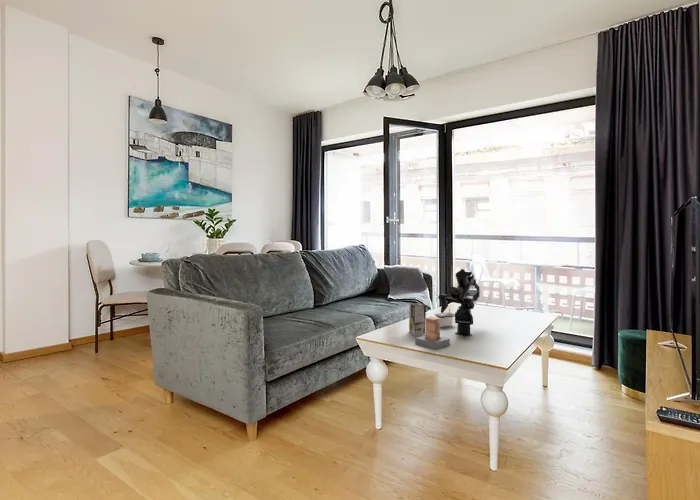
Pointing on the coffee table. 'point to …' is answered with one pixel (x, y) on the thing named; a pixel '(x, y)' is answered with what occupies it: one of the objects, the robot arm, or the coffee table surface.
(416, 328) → the coffee box
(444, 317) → the architectural model
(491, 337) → the coffee table surface
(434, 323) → the peg
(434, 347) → the socket block
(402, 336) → the coffee table surface
